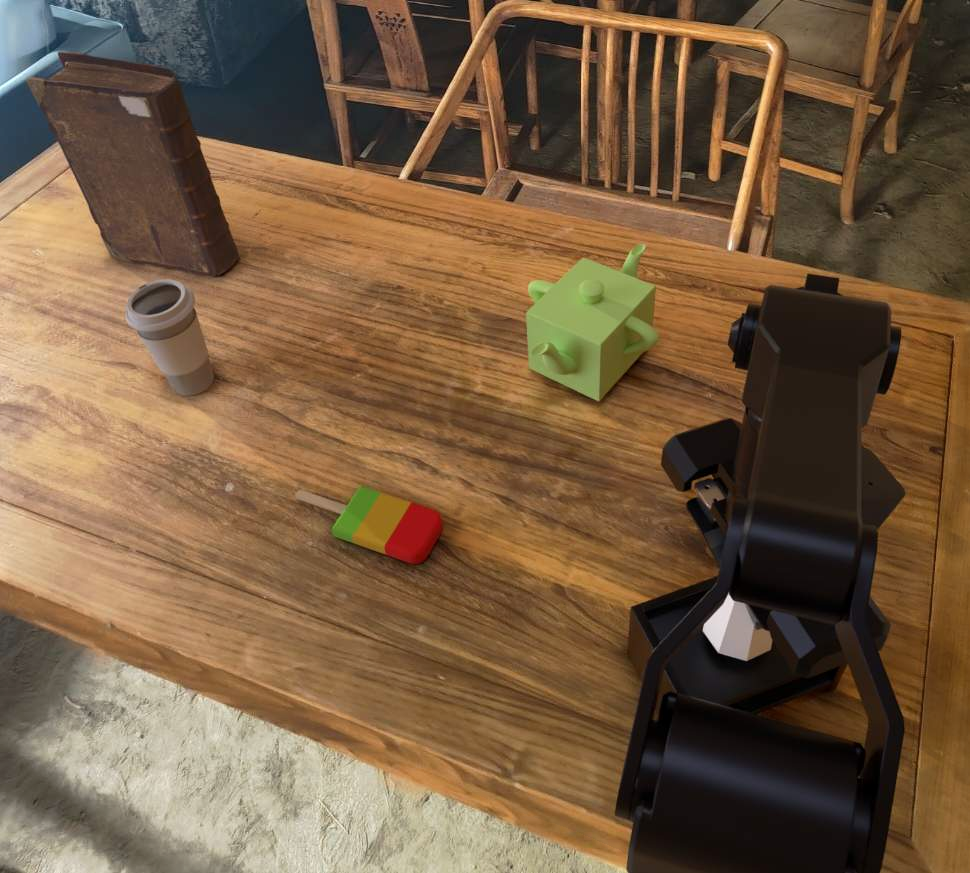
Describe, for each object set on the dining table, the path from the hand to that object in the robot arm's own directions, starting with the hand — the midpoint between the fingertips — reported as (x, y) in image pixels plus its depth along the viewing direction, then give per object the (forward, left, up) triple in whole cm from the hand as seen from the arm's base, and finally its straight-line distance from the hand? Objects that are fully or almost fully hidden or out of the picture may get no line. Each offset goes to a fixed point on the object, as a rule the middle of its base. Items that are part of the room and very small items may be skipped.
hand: (747, 602), depth 67 cm
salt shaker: (0, 0, -4) cm, 4 cm away
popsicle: (+26, +24, -11) cm, 37 cm away
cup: (+52, +37, -11) cm, 65 cm away
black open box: (0, 0, -11) cm, 11 cm away
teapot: (+37, -4, -11) cm, 39 cm away
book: (+75, +36, -11) cm, 84 cm away
